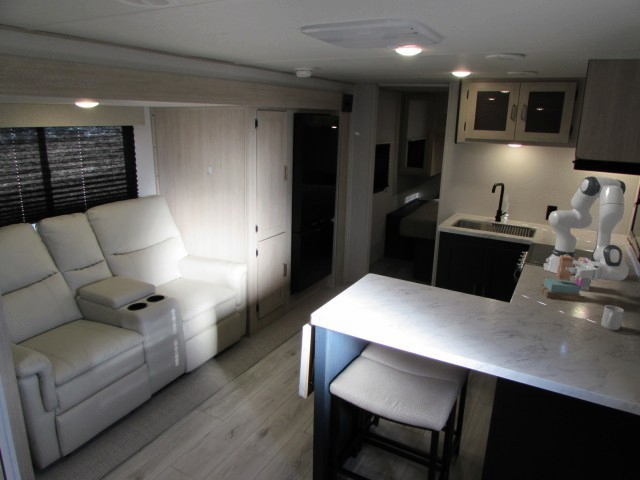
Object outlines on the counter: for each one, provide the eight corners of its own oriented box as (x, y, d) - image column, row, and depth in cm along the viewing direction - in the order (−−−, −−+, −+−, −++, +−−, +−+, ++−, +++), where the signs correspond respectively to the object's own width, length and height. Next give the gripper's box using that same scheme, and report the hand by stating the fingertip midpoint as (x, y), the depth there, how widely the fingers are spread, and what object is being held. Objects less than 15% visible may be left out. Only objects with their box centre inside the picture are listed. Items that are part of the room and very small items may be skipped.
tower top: (543, 285, 248) (545, 278, 247) (570, 287, 247) (572, 280, 246) (550, 291, 238) (552, 284, 237) (578, 294, 237) (580, 286, 236)
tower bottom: (540, 291, 251) (541, 284, 250) (571, 294, 248) (572, 287, 247) (546, 299, 239) (548, 292, 238) (579, 303, 236) (581, 295, 235)
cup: (620, 326, 206) (624, 308, 204) (617, 333, 199) (621, 314, 197) (602, 322, 211) (606, 304, 209) (598, 328, 203) (602, 309, 201)
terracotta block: (556, 276, 244) (560, 255, 241) (566, 277, 243) (570, 256, 240) (559, 279, 239) (563, 257, 236) (569, 280, 238) (573, 258, 235)
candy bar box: (572, 284, 264) (578, 256, 260) (582, 285, 263) (587, 257, 259) (579, 290, 253) (585, 262, 249) (589, 291, 252) (595, 263, 248)
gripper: (586, 258, 246) (558, 255, 249) (600, 269, 226) (570, 266, 229) (584, 269, 247) (556, 266, 250) (597, 281, 228) (567, 278, 231)
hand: (563, 266), depth 240 cm, fingers closed on terracotta block, 5 cm apart
